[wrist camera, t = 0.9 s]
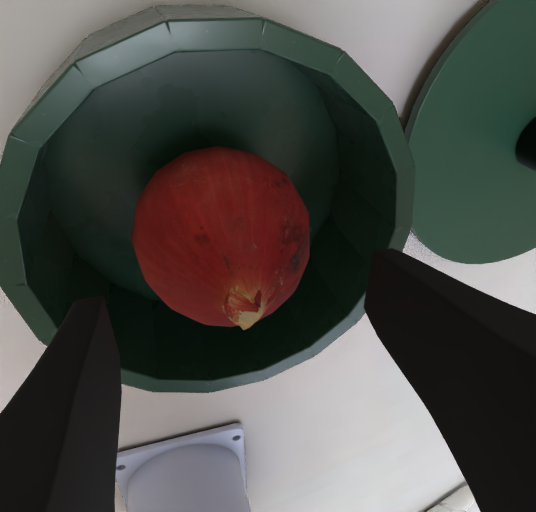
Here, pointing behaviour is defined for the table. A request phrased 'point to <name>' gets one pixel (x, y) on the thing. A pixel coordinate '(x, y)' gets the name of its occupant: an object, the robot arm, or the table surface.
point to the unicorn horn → (456, 501)
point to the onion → (221, 236)
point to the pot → (189, 139)
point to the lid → (479, 140)
